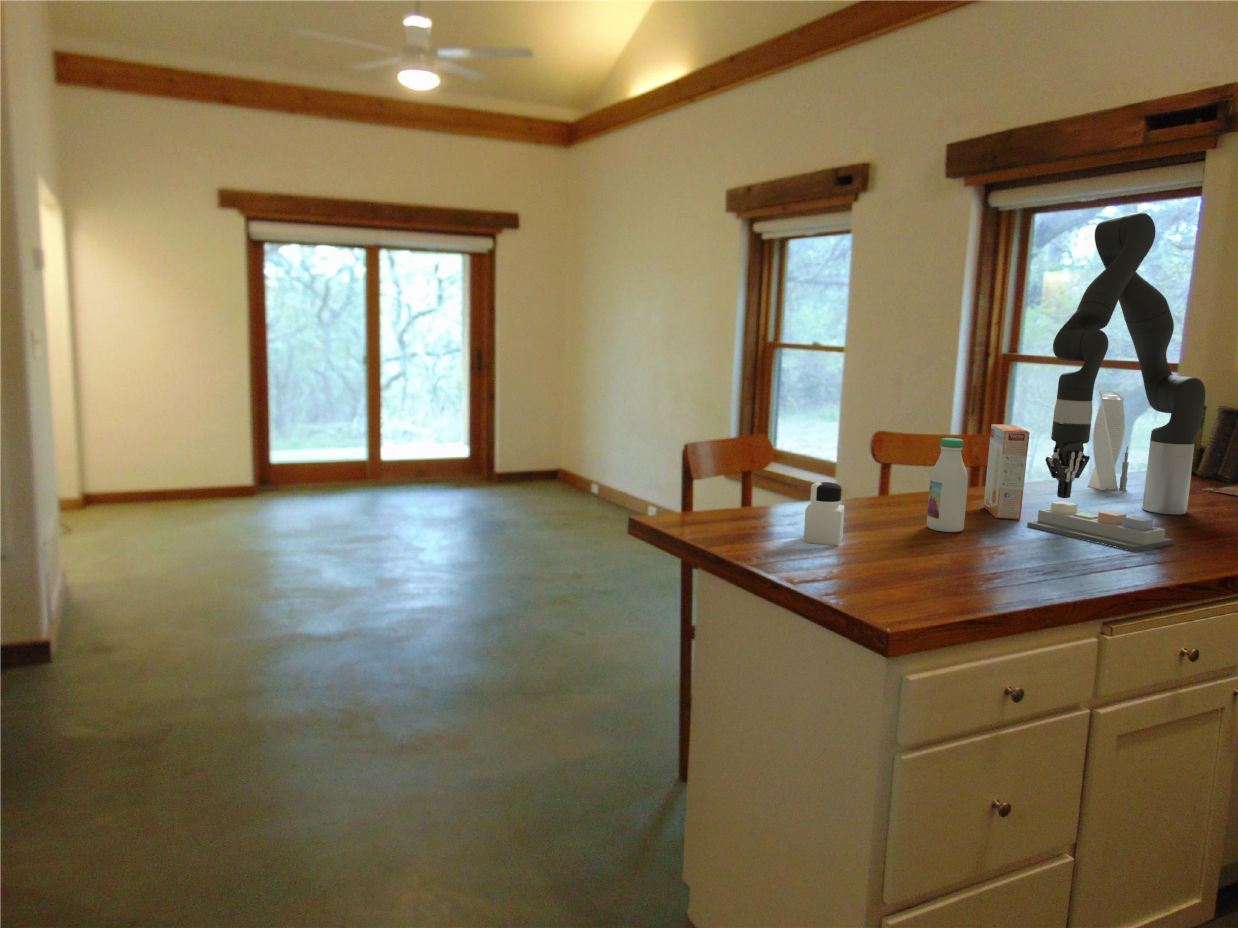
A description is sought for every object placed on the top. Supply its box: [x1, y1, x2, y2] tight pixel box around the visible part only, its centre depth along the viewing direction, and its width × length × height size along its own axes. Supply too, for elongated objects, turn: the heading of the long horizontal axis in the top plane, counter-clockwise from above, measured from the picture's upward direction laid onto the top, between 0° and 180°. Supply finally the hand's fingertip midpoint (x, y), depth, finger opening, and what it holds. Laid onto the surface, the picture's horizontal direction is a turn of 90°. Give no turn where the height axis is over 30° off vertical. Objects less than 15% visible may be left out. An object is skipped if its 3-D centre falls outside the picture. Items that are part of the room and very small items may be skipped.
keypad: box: [1026, 507, 1174, 553], centre depth 190 cm, size 14×24×4 cm, turn 30°
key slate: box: [1123, 515, 1154, 531], centre depth 183 cm, size 4×4×3 cm
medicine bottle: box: [803, 481, 845, 547], centre depth 180 cm, size 7×7×12 cm
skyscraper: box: [1087, 389, 1130, 492], centre depth 244 cm, size 8×8×28 cm
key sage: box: [1074, 512, 1098, 520], centre depth 193 cm, size 4×4×3 cm
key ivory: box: [1050, 500, 1079, 515], centre depth 197 cm, size 4×4×3 cm
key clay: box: [1097, 510, 1127, 525], centre depth 188 cm, size 4×4×3 cm
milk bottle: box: [926, 437, 969, 533], centre depth 192 cm, size 8×8×20 cm
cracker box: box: [983, 423, 1030, 521], centre depth 209 cm, size 14×6×21 cm, turn 168°
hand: (1063, 497), depth 197 cm, fingers closed
